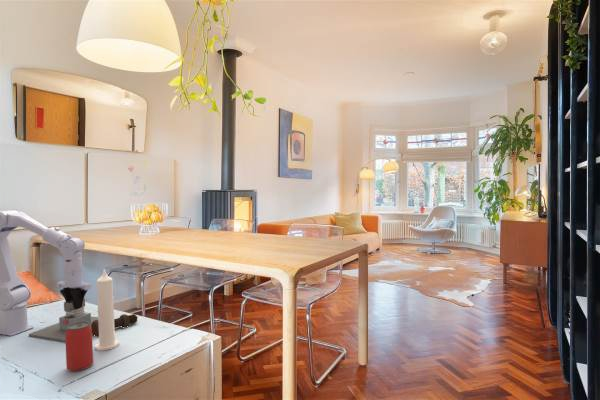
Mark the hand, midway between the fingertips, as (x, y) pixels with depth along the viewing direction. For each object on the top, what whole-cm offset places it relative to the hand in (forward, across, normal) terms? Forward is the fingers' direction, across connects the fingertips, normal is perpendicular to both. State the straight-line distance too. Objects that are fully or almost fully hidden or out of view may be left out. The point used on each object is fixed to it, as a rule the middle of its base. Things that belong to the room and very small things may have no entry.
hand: (74, 307), depth 134 cm
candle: (+8, +24, -8) cm, 27 cm away
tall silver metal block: (+5, 0, 0) cm, 5 cm away
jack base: (+8, 0, 0) cm, 8 cm away
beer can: (+8, +28, -21) cm, 36 cm away
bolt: (+8, +15, +4) cm, 18 cm away
